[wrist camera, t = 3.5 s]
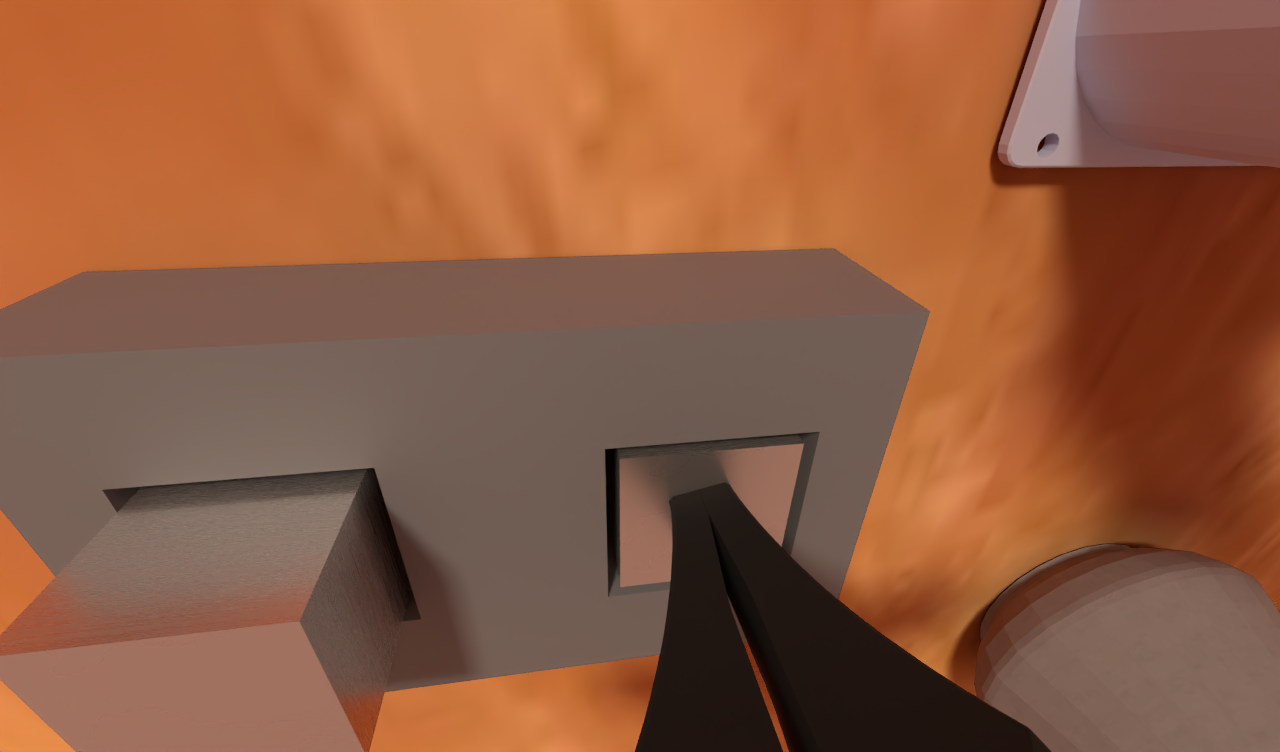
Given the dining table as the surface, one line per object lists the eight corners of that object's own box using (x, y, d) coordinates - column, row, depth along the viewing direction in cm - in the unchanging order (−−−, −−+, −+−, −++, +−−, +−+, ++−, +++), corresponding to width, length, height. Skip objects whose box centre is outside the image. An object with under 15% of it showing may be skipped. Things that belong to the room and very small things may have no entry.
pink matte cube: (748, 360, 15) (804, 443, 11) (733, 472, 17) (776, 568, 13) (603, 369, 14) (620, 459, 11) (606, 484, 16) (620, 587, 13)
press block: (834, 248, 14) (929, 310, 10) (776, 527, 19) (827, 632, 15) (83, 272, 11) (-119, 363, 8) (251, 583, 16) (173, 720, 13)
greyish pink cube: (371, 458, 11) (299, 621, 8) (411, 587, 13) (367, 757, 10) (152, 474, 10) (-22, 657, 7) (231, 607, 12) (122, 795, 9)
